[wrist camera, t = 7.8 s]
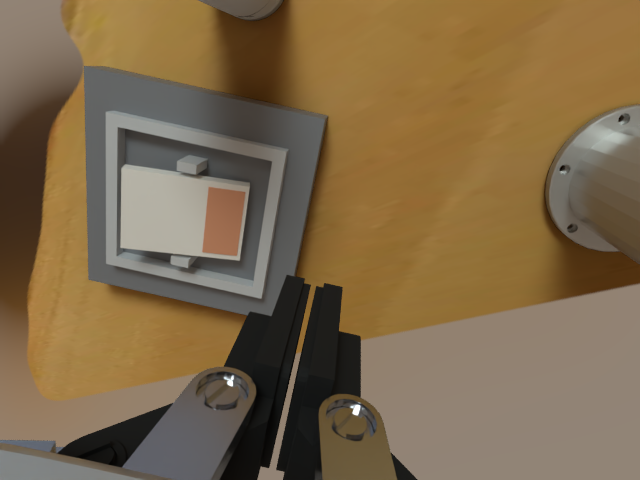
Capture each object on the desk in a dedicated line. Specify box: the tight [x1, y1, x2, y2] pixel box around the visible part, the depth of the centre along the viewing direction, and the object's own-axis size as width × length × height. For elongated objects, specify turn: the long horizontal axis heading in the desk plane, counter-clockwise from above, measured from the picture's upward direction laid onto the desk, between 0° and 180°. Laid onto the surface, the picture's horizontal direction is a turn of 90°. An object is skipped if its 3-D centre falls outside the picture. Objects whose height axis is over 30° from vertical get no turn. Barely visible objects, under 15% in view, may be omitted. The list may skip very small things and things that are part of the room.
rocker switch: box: [120, 164, 250, 261], centre depth 35 cm, size 10×7×1 cm
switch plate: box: [84, 66, 328, 316], centre depth 37 cm, size 20×20×6 cm
